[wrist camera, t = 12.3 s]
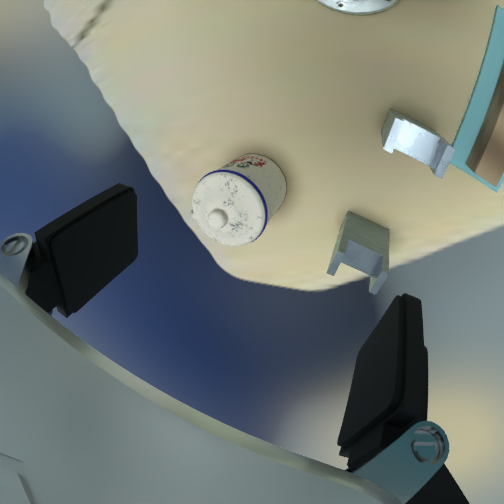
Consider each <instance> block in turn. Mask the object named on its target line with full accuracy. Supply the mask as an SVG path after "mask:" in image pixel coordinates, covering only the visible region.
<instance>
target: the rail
mask: <svg viewBox="0 0 504 504" xmlns="http://www.w3.org/2000/svg"><path fill="white" fill-rule="evenodd" d="M465 164H466V165H467V166H468V167H469V168H470V169H471V170H472V171H473V172H474V173H475V174H476V175H478V176H479V177H481V178H482V179H484V180H485V181H487V182H489V183H490V184H491V185H493V186H494V187H497V185H498V183H499V181H500V179H501V177H502V174H503V172H504V61H503V64H502V68H501V71H500V74H499V78H498V81H497V84H496V87H495V90H494V93H493V96H492V99H491V102H490V104H489V107H488V110H487V112H486V115H485V118H484V120H483V123H482V125H481V128H480V130H479V133H478V135H477V138H476V140H475V142H474V145H473V147H472V149H471V152H470V154H469V156H468V158H467V160H466V163H465Z"/></svg>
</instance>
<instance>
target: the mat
mask: <svg viewBox="0 0 504 504" xmlns="http://www.w3.org/2000/svg"><path fill="white" fill-rule="evenodd" d="M503 61H504V9H503V8H501V7H500V6H496V11H495V16H494V21H493V25H492V29H491V33H490V37H489V41H488V45H487V48H486V52H485V56H484V59H483V62H482V66H481V69H480V72H479V75H478V78H477V81H476V84H475V87H474V90H473V93H472V96H471V99H470V101H469V104H468V107H467V110H466V112H465V115H464V117H463V120H462V122H461V125H460V127H459V130H458V132H457V135H456V137H455V140H454V142H453V144H452V146H453V147H454V148H455V151H454V154H453V156H452V158H451V160H450V162H449V163H451V164H452V165H454V166H456V167H458V168H459V169H461V170H463V171H464V172H466V173H467V174H469V175H471V176H472V177H474V178H476V179H477V180H479V181H480V182H482V183H483V184H485V185H486V186H488V187H489V188H491V189H492V190H494V191H495V192H498V190H499V188H500V186H501V184H502V182H503V180H504V172H503V174H502V177H501V179H500V181H499V183H498V185H497V187H494V186H493V185H491V184H490V183H489V182H487V181H485V180H484V179H482V178H481V177H479V176H478V175H476V174H475V173H474V172H473V171H472V170H471V169H470V168H469V167H468V166H467V165H466V164H465V163H466V160H467V158H468V156H469V154H470V152H471V149H472V147H473V145H474V142H475V140H476V138H477V135H478V133H479V130H480V128H481V125H482V123H483V120H484V118H485V115H486V112H487V110H488V107H489V104H490V102H491V99H492V96H493V93H494V90H495V87H496V84H497V81H498V78H499V74H500V71H501V68H502V64H503Z"/></svg>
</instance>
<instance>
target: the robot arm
mask: <svg viewBox="0 0 504 504" xmlns="http://www.w3.org/2000/svg"><path fill="white" fill-rule="evenodd" d="M316 1H318V2H319V3H321V4H322V5H324V6H326V7H328V8H330V9H333V10H336V11H339V12H342V13H347V14H353V15H367V14H374V13H378V12H381V11H384V10H386V9H388V8H390V7H392V6H393V5H395V4H396V3H397V2H398V1H399V0H390V2H387V1H386V0H316ZM340 4H342V5H343V7H342V8H341V7H339V5H340ZM35 236H36V241H37V242H35V243H34V244H33V240H32V238H31V236H29V235H28V234H25V233H18V234H14V235H11V236H9V237H7V238H6V239H4V240H3V241H2V242H1V243H0V504H469V502H468V500H467V499H466V497H465V496H464V494H463V492H462V491H461V489H460V488H459V486H458V484H457V483H456V481H455V480H454V478H453V477H452V475H451V473H450V472H449V470H448V469H447V467H446V466H445V464H444V462H445V461H446V459H447V457H448V453H449V442H448V438H447V435H446V434H445V432H444V430H443V429H442V428H441V427H440V426H439V425H437V424H435V423H433V422H431V421H427V408H428V352H427V348H426V347H425V346H424V337H423V318H422V306H421V300H420V299H418V298H416V297H413V296H411V295H408V294H406V293H404V294H403V295H402V296H398V295H397V296H396V297H395V298H394V300H393V301H392V303H391V305H390V306H389V308H388V309H387V311H386V312H385V314H384V315H383V317H382V318H381V320H380V321H379V323H378V324H377V326H376V327H375V329H374V330H373V332H372V333H371V335H370V336H369V337H368V339H367V340H366V342H365V343H364V344H363V346H362V347H361V349H360V351H359V353H358V356H357V359H356V365H355V370H354V375H353V379H352V384H351V389H350V393H349V398H348V402H347V406H346V410H345V414H344V418H343V423H342V426H341V430H340V434H339V437H338V442H337V444H338V445H339V446H341V450H340V453H339V455H340V456H344V457H347V458H349V459H348V463H347V465H348V467H349V468H347V469H346V470H342V469H339V468H336V467H333V466H330V465H328V464H325V463H322V462H319V461H316V460H314V459H311V458H308V457H305V456H302V455H299V454H296V453H294V452H291V451H288V450H286V449H283V448H280V447H278V446H275V445H273V444H270V443H268V442H265V441H263V440H260V439H258V438H256V437H253V436H251V435H248V434H246V433H244V432H241V431H239V430H237V429H235V428H232V427H230V426H228V425H226V424H223V423H222V422H219V421H217V420H215V419H213V418H211V417H209V416H207V415H205V414H203V413H201V412H199V411H197V410H195V409H193V408H191V407H189V406H187V405H185V404H183V403H182V402H180V401H178V400H176V399H174V398H172V397H170V396H169V395H167V394H165V393H163V392H162V391H160V390H158V389H156V388H155V387H153V386H151V385H150V384H148V383H146V382H145V381H143V380H141V379H140V378H138V377H136V376H135V375H133V374H131V373H130V372H128V371H127V370H125V369H124V368H122V367H121V366H119V365H117V364H116V363H114V362H113V361H111V360H110V359H108V358H107V357H105V356H104V355H103V354H101V353H100V352H98V351H97V350H95V349H94V348H93V347H91V346H89V345H88V344H87V343H85V342H84V341H83V340H81V339H80V338H79V337H77V336H76V335H75V334H73V333H72V332H71V331H69V330H68V329H67V328H65V327H64V326H63V325H62V324H60V323H59V322H58V321H57V320H55V319H54V318H53V317H52V313H53V308H54V307H57V310H58V311H59V312H60V313H61V314H62V315H64V316H65V317H66V318H67V317H68V316H70V315H71V314H72V313H75V312H77V311H78V310H79V309H81V308H82V307H83V306H84V305H85V304H86V303H87V302H88V301H89V300H90V299H91V298H93V297H94V296H95V295H96V294H97V293H98V292H99V291H100V290H101V289H103V288H104V287H105V286H106V285H107V284H108V283H109V282H111V280H113V279H114V278H115V277H116V276H117V275H119V274H120V273H121V272H122V271H123V270H124V269H125V268H126V267H128V266H129V265H130V264H131V263H133V261H135V259H136V258H137V255H138V240H137V195H136V194H135V192H134V189H133V188H132V187H129V186H126V185H123V184H120V183H119V184H116V185H115V186H113V187H111V188H109V189H107V190H105V191H103V192H102V193H100V194H98V195H96V196H95V197H92V198H91V199H89V200H87V201H86V202H84V203H82V204H80V205H78V206H77V207H75V208H73V209H72V210H70V211H68V212H67V213H65V214H63V215H62V216H60V217H59V218H57V219H55V220H54V221H52V222H50V223H49V224H47V225H46V226H44V227H43V228H41V229H40V230H38V231H37V232H35Z"/></svg>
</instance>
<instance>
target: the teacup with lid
mask: <svg viewBox="0 0 504 504" xmlns="http://www.w3.org/2000/svg"><path fill="white" fill-rule="evenodd" d="M285 195H286V181H285V178H284V175H283V173H282V172H281V170H280V168H279V167H278V166H277V165H276V164H275V163H274V162H273V161H271V160H270V159H268V158H266V157H264V156H261V155H257V154H247V155H243V156H240V157H238V158H237V159H235V160H233V161H232V162H230V163H228V164H227V165H225V166H223V167H222V168H220V169H219V170H216V171H213V172H210V173H208V174H207V175H205V176H204V177H203V178H202V179H201V180H200V181H199V182H198V184H197V185H196V188H195V190H194V193H193V198H192V208H193V210H191V212H190V216H191V218H192V219H193V220H196V221H197V222H198V224H199V226H200V227H201V228H202V230H203V231H204V232H205V233H206V234H207V235H208V236H209V237H211V238H212V239H214V240H215V241H217V242H219V243H222V244H225V245H229V246H242V245H246V244H248V243H251V242H253V241H254V240H256V239H257V238H258V237H259V236H260V235H261V234H262V232H263V231H264V229H265V227H266V224H267V223H268V221H269V220H270V219H271V217H272V216H273V215H274V213H275V212H276V211H277V210H278V208H279V207H280V206H281V204H282V203H283V201H284V198H285Z"/></svg>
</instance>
